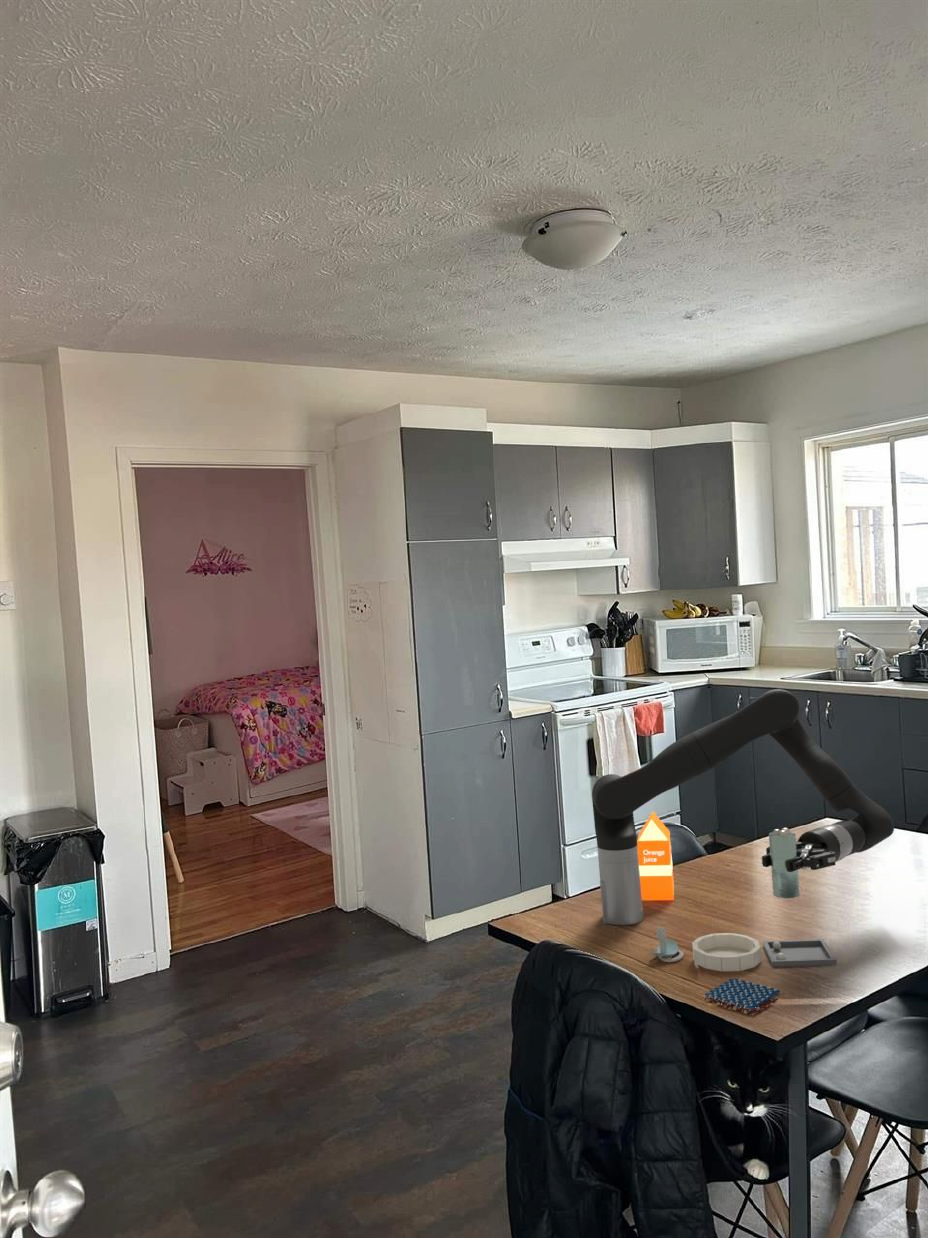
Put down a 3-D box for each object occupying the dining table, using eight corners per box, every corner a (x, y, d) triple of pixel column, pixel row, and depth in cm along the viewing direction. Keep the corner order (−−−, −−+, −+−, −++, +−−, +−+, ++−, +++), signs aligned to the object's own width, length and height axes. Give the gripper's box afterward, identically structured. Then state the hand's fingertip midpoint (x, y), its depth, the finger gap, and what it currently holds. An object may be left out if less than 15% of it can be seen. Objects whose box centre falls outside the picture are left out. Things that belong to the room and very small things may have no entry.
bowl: (697, 976, 187) (695, 958, 187) (691, 951, 200) (689, 934, 200) (766, 974, 185) (764, 956, 185) (755, 949, 198) (754, 932, 198)
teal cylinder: (775, 898, 189) (770, 832, 189) (771, 890, 194) (766, 826, 194) (802, 897, 188) (797, 831, 188) (796, 889, 193) (792, 825, 193)
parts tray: (772, 970, 187) (771, 957, 186) (763, 949, 197) (762, 937, 197) (837, 969, 185) (836, 955, 185) (824, 947, 196) (823, 935, 196)
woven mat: (754, 1020, 168) (753, 1009, 168) (702, 1005, 175) (701, 994, 175) (785, 1000, 175) (784, 989, 175) (734, 986, 182) (733, 975, 182)
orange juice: (641, 900, 235) (634, 819, 235) (643, 889, 243) (637, 810, 243) (674, 900, 233) (667, 818, 233) (675, 888, 242) (668, 809, 241)
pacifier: (689, 954, 199) (661, 949, 203) (687, 924, 199) (660, 920, 202) (675, 967, 193) (647, 962, 197) (673, 936, 193) (646, 931, 196)
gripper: (793, 822, 205) (744, 840, 195) (855, 832, 194) (806, 851, 183) (796, 857, 205) (746, 876, 195) (858, 869, 194) (809, 890, 184)
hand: (776, 864), depth 189 cm, fingers closed on teal cylinder, 5 cm apart
